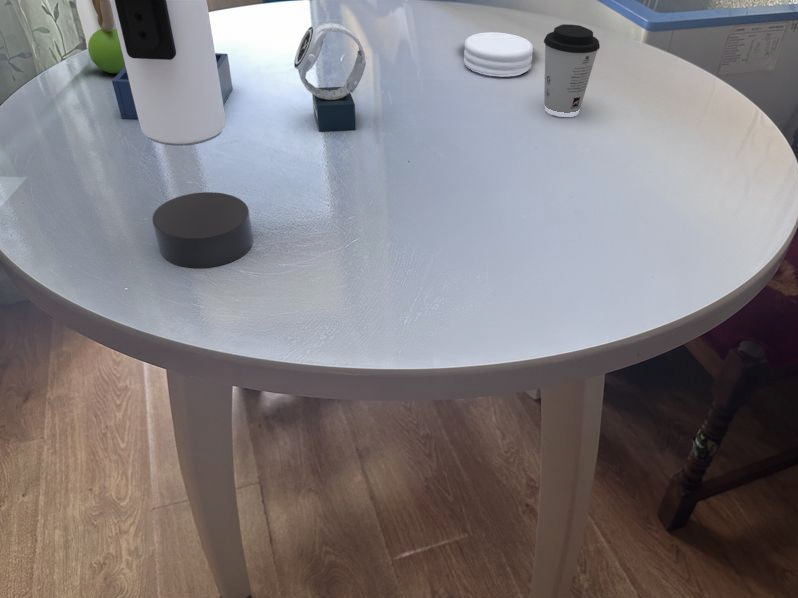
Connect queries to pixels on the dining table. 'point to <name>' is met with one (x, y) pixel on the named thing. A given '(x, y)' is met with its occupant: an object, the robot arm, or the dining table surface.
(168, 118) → the can
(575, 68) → the coffee cup
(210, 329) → the dining table surface
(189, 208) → the stand
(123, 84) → the blue open box
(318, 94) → the watch
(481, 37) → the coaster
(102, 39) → the green maraca
